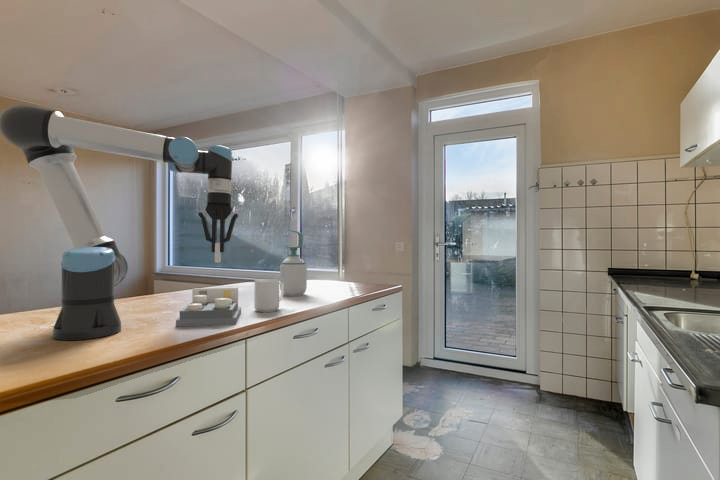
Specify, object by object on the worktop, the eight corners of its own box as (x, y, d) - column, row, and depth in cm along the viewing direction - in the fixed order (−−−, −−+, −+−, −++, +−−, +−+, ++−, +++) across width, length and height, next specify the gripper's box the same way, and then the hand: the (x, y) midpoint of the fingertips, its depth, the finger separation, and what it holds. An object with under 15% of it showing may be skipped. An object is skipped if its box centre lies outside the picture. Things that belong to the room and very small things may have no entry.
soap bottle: (285, 292, 183) (285, 229, 184) (309, 293, 182) (310, 229, 182) (276, 296, 171) (276, 228, 171) (302, 297, 169) (302, 228, 170)
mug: (264, 313, 132) (264, 282, 132) (249, 310, 137) (249, 280, 137) (290, 308, 141) (290, 279, 141) (275, 306, 147) (275, 277, 147)
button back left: (191, 306, 121) (191, 297, 121) (194, 304, 125) (194, 295, 125) (205, 305, 122) (205, 296, 122) (207, 303, 126) (207, 294, 126)
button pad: (175, 326, 111) (176, 296, 111) (189, 314, 129) (189, 288, 129) (235, 324, 115) (235, 294, 115) (241, 312, 133) (241, 287, 133)
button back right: (217, 310, 123) (217, 300, 123) (219, 307, 127) (219, 298, 127) (231, 309, 124) (231, 300, 124) (232, 307, 128) (232, 298, 128)
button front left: (185, 315, 113) (185, 305, 113) (188, 313, 117) (188, 303, 117) (200, 315, 114) (200, 305, 114) (203, 312, 118) (203, 303, 118)
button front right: (213, 309, 115) (213, 300, 115) (215, 307, 119) (215, 298, 119) (228, 309, 116) (228, 299, 116) (229, 307, 120) (229, 297, 120)
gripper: (196, 190, 122) (194, 262, 122) (238, 192, 124) (236, 263, 124) (201, 193, 129) (199, 261, 129) (240, 194, 132) (239, 261, 132)
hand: (217, 262), depth 127 cm, fingers closed
